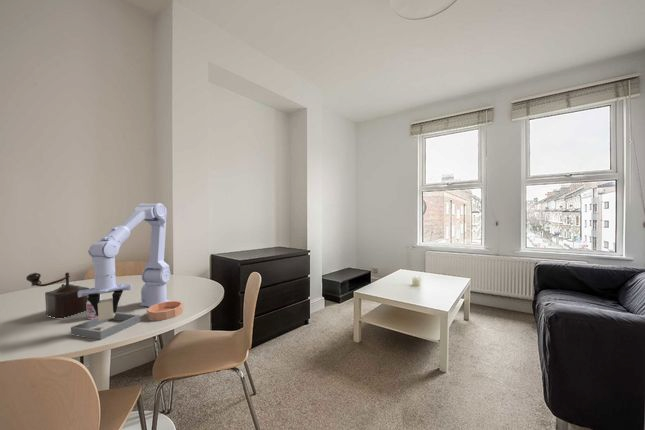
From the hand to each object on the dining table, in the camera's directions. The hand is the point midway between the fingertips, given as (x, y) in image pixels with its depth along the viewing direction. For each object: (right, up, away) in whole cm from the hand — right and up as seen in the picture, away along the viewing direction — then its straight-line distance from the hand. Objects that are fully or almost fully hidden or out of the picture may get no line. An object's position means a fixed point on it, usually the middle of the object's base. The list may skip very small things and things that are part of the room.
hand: (106, 313), depth 93 cm
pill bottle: (-13, -5, +10) cm, 17 cm away
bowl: (+14, -5, +12) cm, 19 cm away
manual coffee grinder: (-29, -6, +12) cm, 32 cm away
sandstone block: (0, -1, 0) cm, 1 cm away
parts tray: (0, -5, 0) cm, 5 cm away
